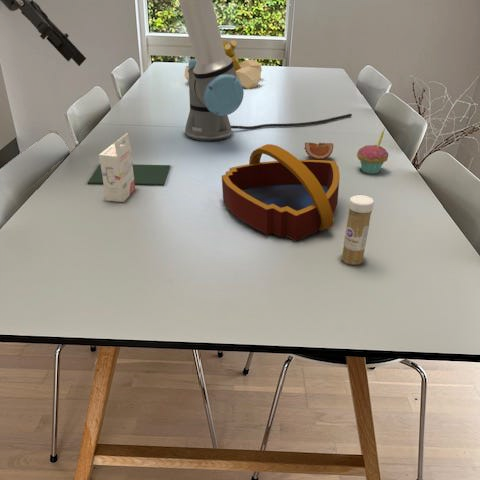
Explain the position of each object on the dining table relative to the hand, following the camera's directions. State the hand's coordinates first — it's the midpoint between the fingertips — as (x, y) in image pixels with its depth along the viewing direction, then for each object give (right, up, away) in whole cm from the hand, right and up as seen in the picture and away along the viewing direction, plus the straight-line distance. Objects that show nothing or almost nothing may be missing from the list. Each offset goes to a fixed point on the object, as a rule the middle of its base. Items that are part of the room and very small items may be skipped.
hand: (77, 60), depth 133 cm
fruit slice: (+63, -17, +27) cm, 71 cm away
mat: (+10, -25, +14) cm, 30 cm away
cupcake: (+77, -22, +20) cm, 83 cm away
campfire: (+33, +42, +107) cm, 120 cm away
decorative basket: (+51, -38, -2) cm, 63 cm away
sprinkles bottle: (+64, -52, -22) cm, 85 cm away
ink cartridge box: (+10, -33, +3) cm, 35 cm away
